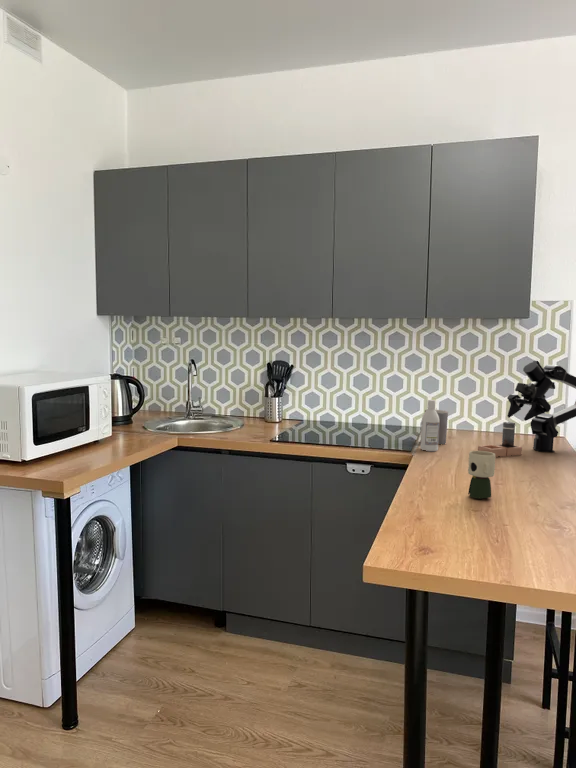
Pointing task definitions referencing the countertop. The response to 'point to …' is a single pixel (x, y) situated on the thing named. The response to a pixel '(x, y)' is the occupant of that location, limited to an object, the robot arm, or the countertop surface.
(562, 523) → the countertop surface
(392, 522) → the countertop surface
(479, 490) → the character mug
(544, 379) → the robot arm
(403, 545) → the countertop surface
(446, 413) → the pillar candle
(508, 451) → the collar
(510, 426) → the tube
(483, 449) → the collar
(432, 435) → the bath foam
